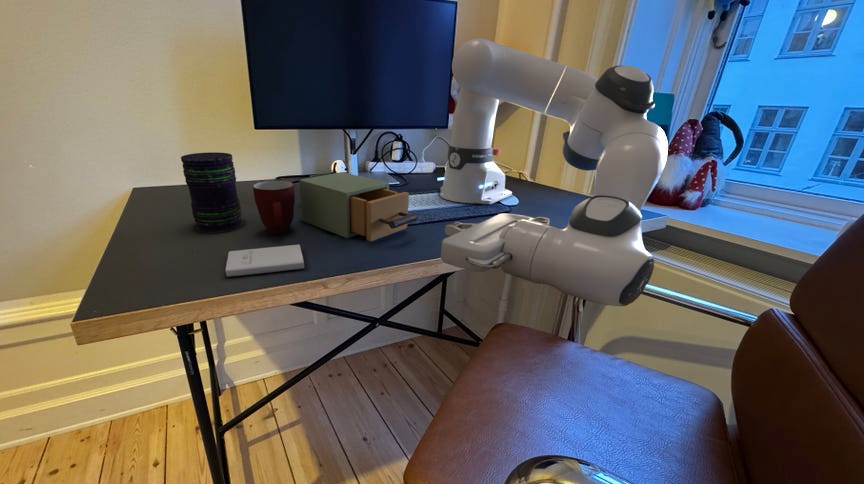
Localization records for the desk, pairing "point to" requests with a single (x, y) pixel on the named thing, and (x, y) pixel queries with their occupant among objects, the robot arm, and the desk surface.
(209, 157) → the storage jar
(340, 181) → the cabinet
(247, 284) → the desk surface
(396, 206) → the drawer
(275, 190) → the mug
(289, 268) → the hard drive
